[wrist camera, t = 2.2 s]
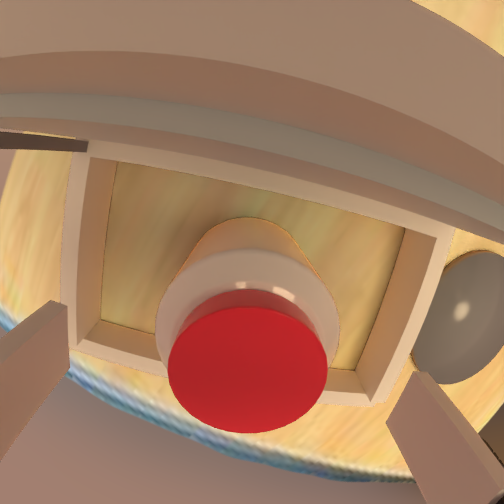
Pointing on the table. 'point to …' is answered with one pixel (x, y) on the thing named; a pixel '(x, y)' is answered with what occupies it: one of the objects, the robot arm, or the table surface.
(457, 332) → the saucer
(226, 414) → the pill bottle
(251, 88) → the box
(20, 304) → the table surface
